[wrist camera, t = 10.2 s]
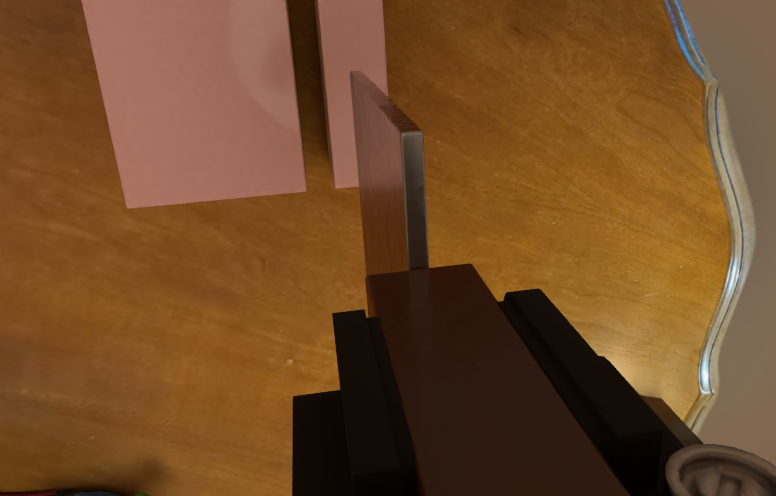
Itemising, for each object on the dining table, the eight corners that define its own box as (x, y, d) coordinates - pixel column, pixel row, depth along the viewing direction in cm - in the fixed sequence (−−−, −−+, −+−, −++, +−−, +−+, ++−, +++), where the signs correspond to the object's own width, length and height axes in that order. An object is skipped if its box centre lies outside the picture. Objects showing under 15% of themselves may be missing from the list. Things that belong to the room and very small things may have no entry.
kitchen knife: (325, 73, 21) (443, 341, 4) (385, 68, 21) (728, 305, 4) (346, 294, 24) (466, 972, 7) (399, 287, 24) (636, 934, 7)
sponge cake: (111, -21, 37) (75, -26, 31) (283, -31, 38) (281, -38, 32) (151, 179, 41) (126, 209, 35) (305, 165, 43) (307, 192, 36)
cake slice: (310, -32, 38) (313, -40, 32) (366, -36, 39) (379, -43, 33) (329, 163, 43) (335, 189, 37) (379, 158, 43) (393, 183, 37)
